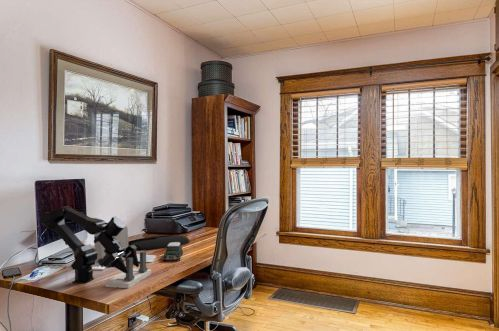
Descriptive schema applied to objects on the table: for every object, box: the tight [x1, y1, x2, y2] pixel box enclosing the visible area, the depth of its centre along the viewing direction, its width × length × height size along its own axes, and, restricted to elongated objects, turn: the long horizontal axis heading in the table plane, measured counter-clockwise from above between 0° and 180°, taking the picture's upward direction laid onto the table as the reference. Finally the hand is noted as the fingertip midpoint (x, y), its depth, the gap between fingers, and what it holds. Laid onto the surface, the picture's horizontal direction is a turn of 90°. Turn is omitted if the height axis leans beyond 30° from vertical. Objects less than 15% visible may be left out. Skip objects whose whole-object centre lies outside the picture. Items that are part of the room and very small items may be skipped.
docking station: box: [128, 234, 190, 252], centre depth 222 cm, size 25×40×5 cm, turn 125°
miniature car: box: [162, 242, 184, 262], centre depth 188 cm, size 9×18×8 cm, turn 5°
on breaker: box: [138, 250, 149, 272], centre depth 155 cm, size 3×4×9 cm
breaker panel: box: [104, 267, 152, 289], centre depth 149 cm, size 11×20×2 cm, turn 170°
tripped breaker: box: [124, 257, 135, 281], centre depth 143 cm, size 3×4×9 cm
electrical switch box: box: [93, 225, 129, 263], centre depth 184 cm, size 15×15×20 cm
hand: (132, 269), depth 143 cm, fingers open, 9 cm apart
